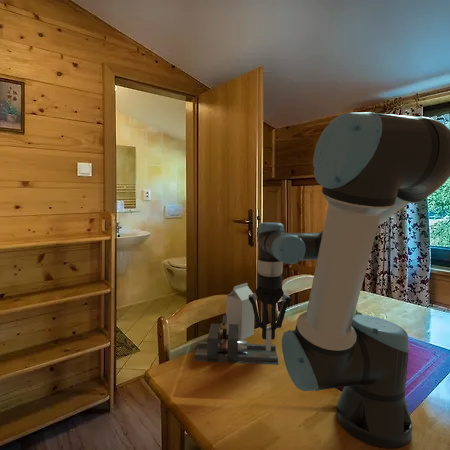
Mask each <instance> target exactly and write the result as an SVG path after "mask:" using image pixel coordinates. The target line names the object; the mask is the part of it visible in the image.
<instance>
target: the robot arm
mask: <svg viewBox="0 0 450 450" xmlns="http://www.w3.org/2000/svg"><path fill="white" fill-rule="evenodd" d="M312 166H313V168H314V170H313V176H314V179H315V180H316V182H317V184H319V185H320V186H321V195H322V196H323V198H324V199H325V200H326V201H327V210H326V214H325V220H324V225H323V229H322V231H319V232H285V229H284V228H285V227H284V224H283V223H282V222H271V221H270V222H269V221H267V222H265V221H264V222H261V223H260V224H258V232H257V277H256V279H257V281H256V284H257V285H256V289H255V292H254V293H253V294H252V295H251V294H250V295H249V296H248V297H249V301H250V302H251V304H252V307H253V311H254V321H255V323H256V327H257V328H259V329H261V338H262V340H265V343H264V344H265V348H266V351H271V345H272V341H273V340H275V338H276V329H281V328H282V325H283V322H284V319H285V315H286V311H287V307H288V305H289V304H290V303H291V300H292V298H291V297H290V295H288V294H286V293H284V290H283V277H284V276H283V275H282V274H283V271H284V268H283V267H284V264H289V265H293V264H297V263H299V262H300V261H316V265H315V268H314V269H315V270H314V273H313V278H312V284H311V289H310V294H309V297H308V299H309V300H308V303H307V308H306V311H305V312H302V313H301V314H299V316H298V317H297V320H296V325H295V328H294V330H292V329H288V330H287V331H285V332H283V334H282V336H281V350H282V351H281V352H282V356H283V362H284V365H285V368H286V372H287V374H288V377H289V379H290V380H291V382H292V383H293V385H294V386H295V387H296V388H297V389H298V390H300V391H303V392H309V391H310V392H313V391H315V392H319V391H323V390H330V389H331V390H332V389H338V388H342V392H341V393H340V396H339V398H338V399H337V403H336V418H337V421H338V423H339V424H340V425H341V427H342V428H343V429H344V430H345V431H346V432H347V433H348V434H349V435H351V436H352V437H354V438H355V439H357V440H359V441H361V442H363V443H366V444H368V445H371V446H373V447H378V448H383V449H398V448H401V447H404V446H406V445H407V444H409V443H410V442H411V439H412V437H413V421H412V417H411V415H410V410H409V407H408V404H407V399H406V384H407V373H408V362H409V352H410V349H409V335H408V333H407V331H406V330H405V329H404V328H403V327H401V326H400V325H398V324H396V323H394V322H392V321H389V320H387V319H385V318H380V317H378V316H374V315H373V316H372V315H368V314H367V315H366V314H363V315H354V313H355V310H357V306H358V301H359V298H360V294H361V291H362V287H363V283H364V280H365V276H366V273H367V272H366V271H367V268H368V264H369V262H370V261H369V260H370V257H371V253H372V249H373V246H374V242H375V238H376V235H377V231H378V226H380V225H381V224H383V223H384V222H385V221H386V220H388V219H389V218H390V217H392V216H393V215H395V214H396V213H398V212H399V211H400V210H402V209H403V208H405V207H406V206H407V205H408V204H418V203H420V202H422V201H424V200H425V199H426V198H428V197H429V196H431V195H432V194H434V193H435V192H436V191H437V190H439V189H440V188H441V187H442V186H443V185H444V184H445V183H446V182H447V181H448V180H449V179H450V128H449V127H448V126H446V125H445V124H444V123H443V122H441V121H439V120H437V119H435V118H431V117H426V116H412V115H411V116H409V115H401V114H400V115H398V114H387V113H379V112H378V113H377V112H371V111H367V112H346V113H345V112H344V113H342V114H340V115H338V116H336V117H334V119H332V120H331V121H330V122H329V124H328V125H326V126H325V128H324V129H323V131H322V132H321V134H320V136H319V138H318V140H317V143H316V145H315V149H314V154H313V160H312ZM257 298H258V300H259V301H260V302H261V304H262V311H261V312H262V314H261V317H262V319H261V320H262V321H261V320H260V315H259V312H258V306H257V302H256V301H257ZM280 300H281V301H282V302H281V305H280V309H279V313H278V317H277V319H276V316H277V313H276V311H277V303H279V302H280ZM268 305H270V326H268V323H267V322H268Z"/></svg>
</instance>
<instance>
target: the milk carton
mask: <svg viewBox="0 0 450 450" xmlns="http://www.w3.org/2000/svg"><path fill="white" fill-rule="evenodd" d="M250 294H251V295H252V294H254V293H253V291H252V289H250V287H249V286H248V282H245V283H242V284H238V285H235V286H233V289H232V291H231V292H230V293H228V294H227V295H226V305H225V307H226V310H225V311H226V312H225V313H226V314H225V315H227V336H228V332H229V324H237V325H239V328H238V340H241V341H244V340H246V339H247V338H249V337H251V336H253V335H254V334H255V316H254V311H253V307H252V304H251V302H250V301H249V297H248V296H249V295H250Z"/></svg>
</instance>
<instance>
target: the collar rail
mask: <svg viewBox="0 0 450 450" xmlns="http://www.w3.org/2000/svg"><path fill="white" fill-rule="evenodd" d="M238 328H239V325H237V324H229V332H228V335H227V315H226V314H224V315H223V316H222V322H221V323H210V327H209V331H208V334H207V335H208V336H207V339H206V341H198V342H197V348H196V351H195V352H194V356H193V357H194V358H193V362H206V363H207V362H208V363H209V362H210V363H230V364H255V365H272V366H273V365H275V366H276V365H277V366H279V364H280V363H279V356H278V353H277V348H276V347H277V346H276V344H271V351H266V348H265V343H264V344H263V343H247V353H238V340H239V339H238ZM221 330H222V340H223V339H225V340H228V352H226V353H223V352H218V340H221Z"/></svg>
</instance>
